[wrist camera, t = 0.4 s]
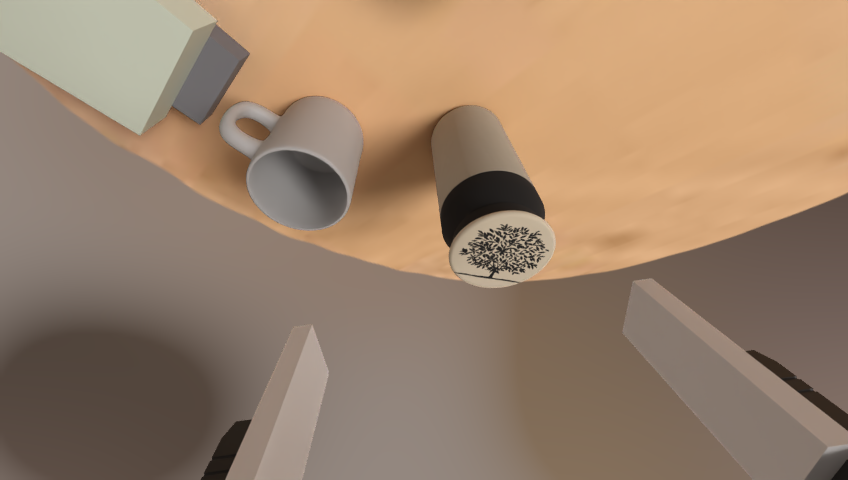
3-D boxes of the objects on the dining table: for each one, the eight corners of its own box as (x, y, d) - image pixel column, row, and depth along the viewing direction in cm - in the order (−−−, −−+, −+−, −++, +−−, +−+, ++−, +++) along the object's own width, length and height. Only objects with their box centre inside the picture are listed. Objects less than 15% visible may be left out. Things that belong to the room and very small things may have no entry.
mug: (379, 129, 35) (371, 186, 26) (339, 183, 39) (321, 245, 31) (268, 49, 29) (216, 90, 21) (236, 122, 33) (182, 178, 25)
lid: (-34, -195, 18) (-119, -222, 15) (217, 20, 25) (193, 30, 22) (-49, -23, 23) (-116, -18, 20) (165, 116, 30) (139, 135, 27)
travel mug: (450, 91, 32) (482, 194, 19) (516, 121, 35) (585, 231, 21) (419, 158, 37) (427, 277, 24) (479, 180, 39) (516, 300, 26)
